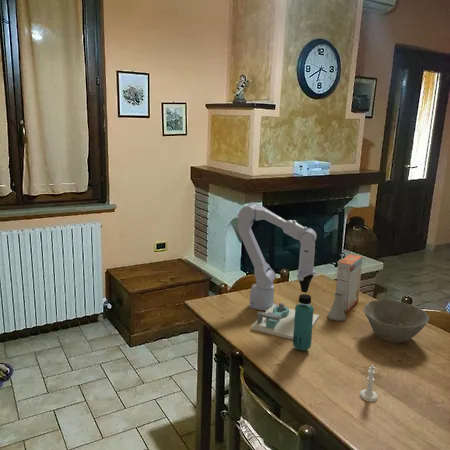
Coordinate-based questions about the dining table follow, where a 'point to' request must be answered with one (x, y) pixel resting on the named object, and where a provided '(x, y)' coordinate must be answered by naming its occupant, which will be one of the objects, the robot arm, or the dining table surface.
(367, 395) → the chess piece
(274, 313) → the link
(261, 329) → the board
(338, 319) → the flask
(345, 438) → the dining table surface
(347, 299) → the cracker box
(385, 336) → the ceramic bowl
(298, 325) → the beverage bottle
